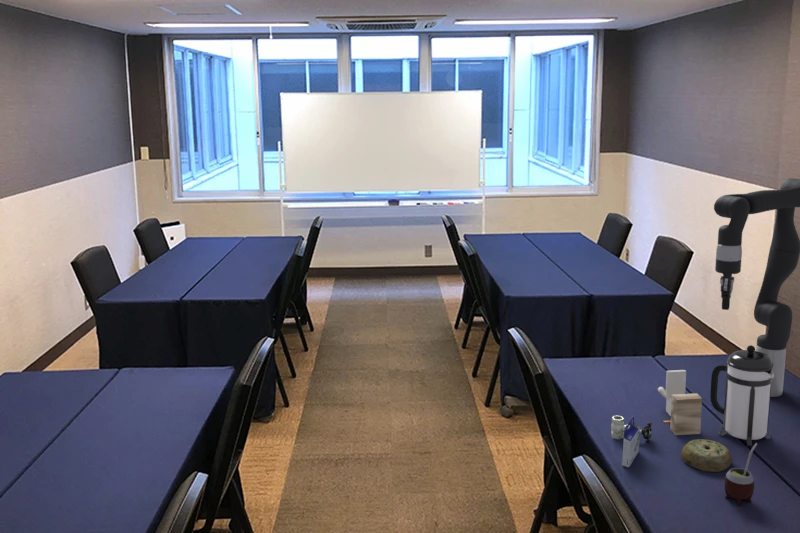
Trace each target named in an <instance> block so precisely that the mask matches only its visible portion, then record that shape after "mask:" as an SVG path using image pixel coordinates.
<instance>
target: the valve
mask: <svg viewBox="0 0 800 533" xmlns="http://www.w3.org/2000/svg"><path fill="white" fill-rule="evenodd" d="M626 425H627V424H625V418H624V417H623V416H622V415H613V416H612V417H611V424H610V430H611V432H610V433H611V435H610V436H611V437H612V439H615V440H622V439H624V428H625V427H626ZM652 426H653V422H647V425H646V426H644V427H643V428H641V429H640V436H642V437H643V439H645V444H650V443H651V438H652V436H653V435H652V432H653V427H652ZM629 427H630V426H629ZM629 427H628V428H629Z"/></svg>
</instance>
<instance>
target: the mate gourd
mask: <svg viewBox="0 0 800 533" xmlns="http://www.w3.org/2000/svg"><path fill="white" fill-rule="evenodd" d="M757 446H758V443H757V442H755V444H754V445H752V447H751V448H750V449H751V450H750V451H749V452H748V455H747V460H746V465H745V468H742V467H741V468H739V467H734V468H733V467H732V468H730V469H729V470H728V471H727V472H726V474H725V476H724V490H725V491H724V492H725V496H724V497H725V500H731V501H736V506H737V507H741V503H742V502H743V503H752V497H753V494H754V490H755V480H754V476H753V474H751V471H749V470H748V468H749V466H750V461H751V458H752V456H753V452H754V450H755V449H756V447H757Z"/></svg>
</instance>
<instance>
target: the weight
mask: <svg viewBox="0 0 800 533" xmlns="http://www.w3.org/2000/svg"><path fill="white" fill-rule="evenodd" d="M680 452H681V453H680V457H681V459H682V460H683V462H684V463H685V464H686V465H689V466H691V467H693V468H695V469H698V470H700V471H704V472H712V473H713V472H715V473H716V472H722V471H725V470H726V469H727V468H729V467H730V466H731V465H732V458H733V457H732V454H731V451H730V450H729V449H728V448H727V447H726V446H725V445H723V444H722V443H720V442H718V441H715V440H710V439H705V438H704V439H702V438H700V439H699V438H697V439H692V440H689V441H688V442H687V443H686V444H685V445H684V446H683V447H682V449H681V451H680Z"/></svg>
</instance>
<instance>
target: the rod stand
mask: <svg viewBox="0 0 800 533" xmlns="http://www.w3.org/2000/svg"><path fill="white" fill-rule="evenodd" d="M657 391H658V393H659V394H660V395H662V398H664V399H665V400H666V397H665V393H666V388H664V387H663V386H659V387H658V388H657ZM702 406H703V398H702V397H701V396H700V395H699V394H698V393H697V392H696V393H685V394H675V395H672V400H671V416H670V419H668V420H667V419H666V420H663V421H662V422H663V423H665V424H667V423H670V424H669V426H670V427H669V428H670V431H671V433H672V434H674V436H685V435H700V434H701V426H702V410H703V409H702V408H703V407H702Z"/></svg>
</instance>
